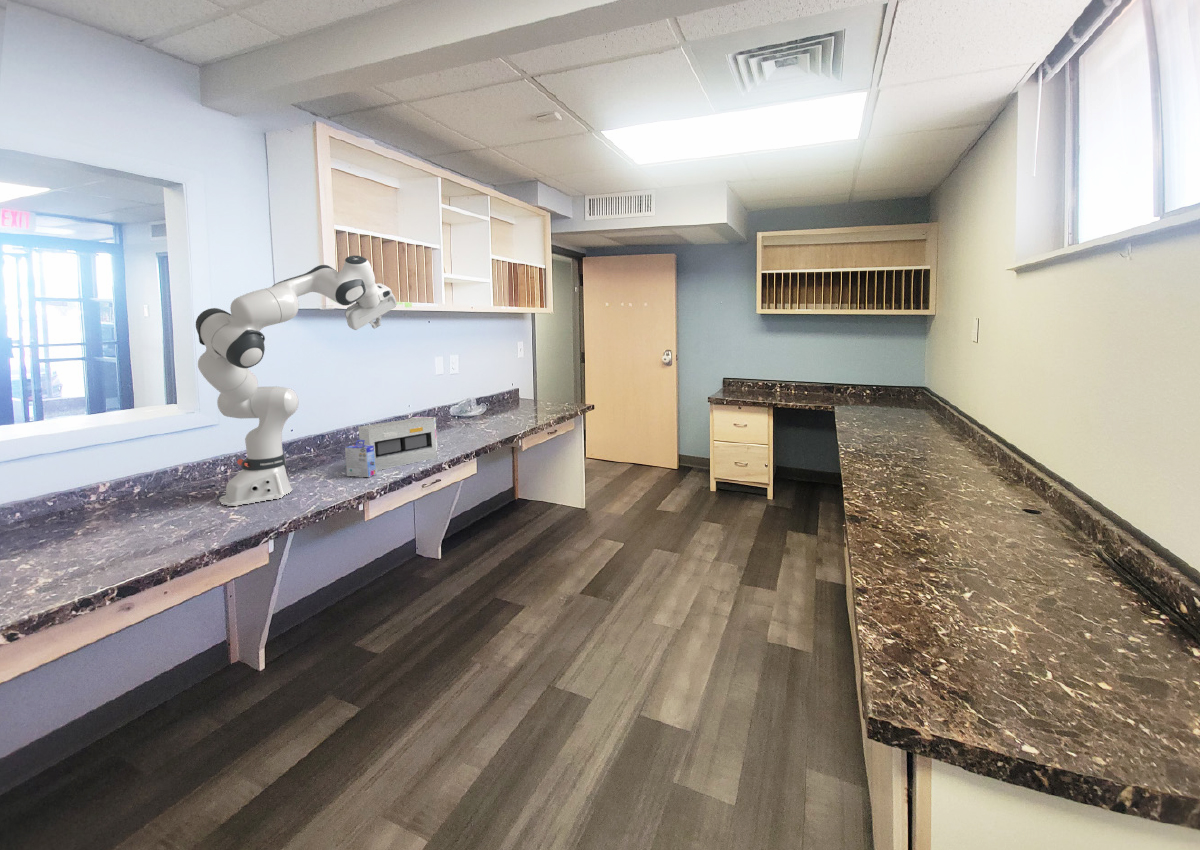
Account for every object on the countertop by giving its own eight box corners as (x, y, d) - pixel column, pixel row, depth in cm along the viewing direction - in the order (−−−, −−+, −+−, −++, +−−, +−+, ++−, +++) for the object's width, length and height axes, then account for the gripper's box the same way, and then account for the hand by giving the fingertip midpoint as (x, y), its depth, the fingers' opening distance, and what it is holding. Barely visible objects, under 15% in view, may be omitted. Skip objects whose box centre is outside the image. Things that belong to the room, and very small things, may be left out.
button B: (405, 449, 244) (404, 438, 243) (400, 448, 247) (399, 436, 246) (426, 445, 251) (425, 434, 250) (420, 444, 254) (420, 433, 254)
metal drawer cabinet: (372, 472, 233) (368, 429, 229) (362, 468, 239) (358, 426, 235) (437, 458, 254) (434, 419, 251) (426, 455, 261) (423, 416, 257)
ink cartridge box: (377, 474, 230) (374, 439, 227) (369, 478, 225) (365, 442, 222) (355, 473, 232) (351, 438, 229) (346, 477, 227) (343, 441, 224)
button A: (378, 454, 236) (377, 442, 235) (372, 452, 239) (371, 441, 238) (400, 450, 243) (400, 438, 242) (395, 448, 246) (394, 437, 245)
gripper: (349, 313, 202) (359, 343, 212) (394, 287, 213) (402, 317, 224) (338, 306, 204) (348, 336, 215) (383, 281, 216) (391, 310, 226)
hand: (376, 326), depth 219 cm, fingers closed
